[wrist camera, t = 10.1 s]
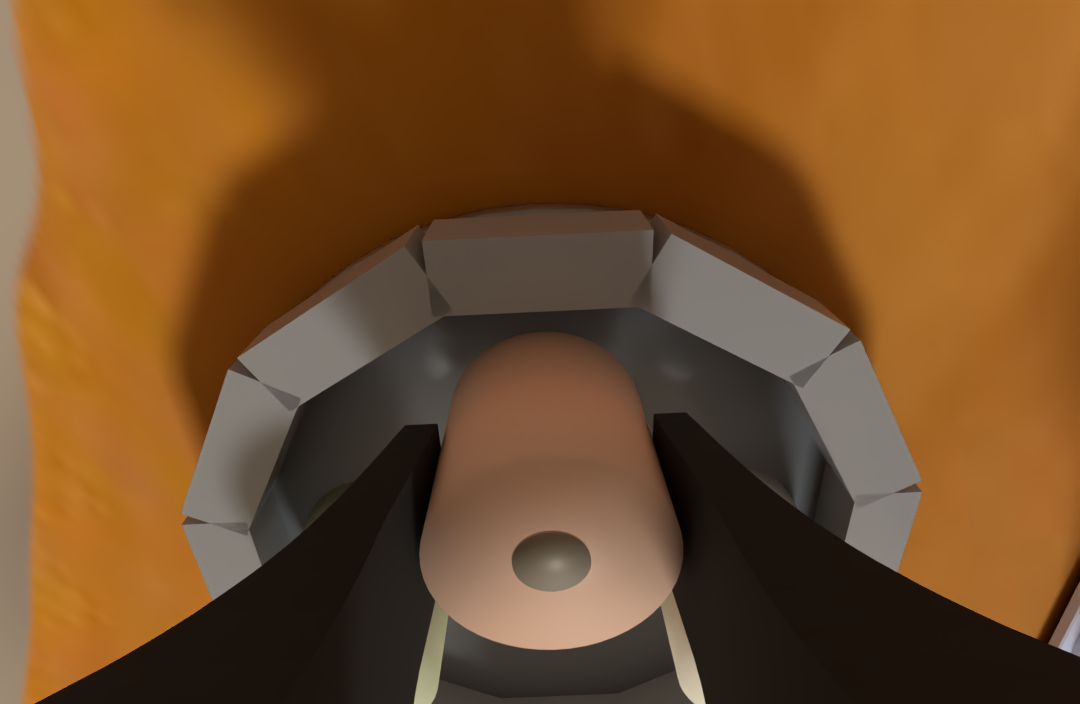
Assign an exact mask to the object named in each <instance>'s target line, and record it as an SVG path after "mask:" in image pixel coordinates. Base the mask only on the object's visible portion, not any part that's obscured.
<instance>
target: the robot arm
mask: <svg viewBox="0 0 1080 704" xmlns="http://www.w3.org/2000/svg"><path fill="white" fill-rule="evenodd" d="M652 439H653V443H654V446H655V449H656V452H657V455H658V459H659V462H660V465H661V468H662V472H663V475H664V478H665V481H666V484H667V488H668V491H669V494H670V497H671V501H672V504H673V507H674V510H675V513H676V517H677V520H678V523H679V526H680V529H681V533H682V539H683V561H682V567H681V571H680V574H679V576H678V579H677V582H676V584H675V585H674V587H673V589H672V592H673V595H674V598H675V601H676V604H677V607H678V610H679V613H680V617H681V620H682V623H683V626H684V629H685V632H686V635H687V638H688V641H689V644H690V648H691V651H692V654H693V657H694V660H695V664H696V667H697V671H698V675H699V678H700V682H701V686H702V690H703V695H704V699H705V704H1080V582H1079V584H1078V586H1077V588H1076V590H1075V592H1074V594H1073V596H1072V598H1071V600H1070V602H1069V604H1068V606H1067V608H1066V610H1065V612H1064V614H1063V616H1062V618H1061V620H1060V622H1059V624H1058V626H1057V627H1056V629H1055V631H1054V633H1053V635H1052V637H1051V639H1050V641H1049V643H1045V642H1043V641H1040V640H1038V639H1035V638H1033V637H1031V636H1028V635H1026V634H1023V633H1021V632H1018V631H1016V630H1013V629H1011V628H1009V627H1006V626H1004V625H1002V624H1000V623H997V622H995V621H993V620H991V619H989V618H987V617H985V616H983V615H980V614H978V613H976V612H974V611H972V610H970V609H968V608H966V607H964V606H961V605H959V604H957V603H955V602H953V601H951V600H949V599H947V598H945V597H943V596H941V595H939V594H937V593H935V592H933V591H931V590H929V589H927V588H925V587H923V586H921V585H919V584H917V583H915V582H914V581H912V580H910V579H908V578H906V577H905V576H903V575H901V574H899V573H897V572H896V571H894V570H892V569H890V568H889V567H887V566H885V565H883V564H881V563H880V562H878V561H876V560H874V559H873V558H871V557H869V556H868V555H866V554H864V553H863V552H861V551H859V550H858V549H856V548H854V547H853V546H851V545H849V544H848V543H846V542H845V541H843V540H842V539H840V538H839V537H837V536H836V535H834V534H833V533H831V532H830V531H828V530H827V529H825V528H824V527H822V526H821V525H819V524H818V523H816V522H815V521H813V520H812V519H810V518H809V517H808V516H806V515H805V514H803V513H802V512H801V511H799V510H798V509H797V508H795V507H794V506H793V505H791V504H790V503H789V502H787V501H786V500H785V499H784V498H782V497H781V496H780V495H778V494H777V493H776V492H774V491H773V490H772V489H771V488H769V487H768V486H767V485H766V484H765V483H763V482H762V481H761V480H760V479H758V478H757V477H756V476H755V475H754V474H753V473H751V472H750V471H749V470H748V469H747V468H746V467H745V466H743V465H742V464H741V463H740V462H739V461H738V460H737V459H735V458H734V457H733V456H732V455H731V454H730V453H729V452H728V451H727V450H726V449H725V448H724V447H723V446H721V445H720V444H719V443H718V442H717V441H716V440H715V439H714V438H713V437H712V436H711V435H710V434H709V433H708V432H707V431H706V430H705V429H704V428H702V427H701V426H700V425H699V424H698V423H697V422H696V421H695V420H694V419H693V418H692V417H691V416H690V415H689V414H688V413H687V412H681V413H659V414H654V416H653V437H652ZM440 451H441V444H440V437H439V430H438V424H418V425H405V426H404V427H403V428H402V429H401V430H400V431H399V432H398V433H397V434H396V436H395V437H394V438H393V439H392V440H391V441H390V442H389V443H388V445H387V446H386V447H385V448H384V449H383V450H382V451H381V452H380V454H379V455H378V456H377V457H376V458H375V459H374V460H373V461H372V463H371V464H370V465H369V466H368V467H367V468H366V469H365V470H364V471H363V472H362V474H361V475H360V476H359V477H358V478H357V479H356V480H355V481H354V482H353V483H352V484H351V485H350V486H349V487H348V488H347V489H346V491H345V492H344V493H343V494H342V495H341V496H340V497H339V498H338V499H337V500H336V501H335V502H334V503H333V504H332V505H331V506H330V507H329V508H327V509H326V510H325V511H324V512H323V513H322V514H321V515H320V516H319V517H318V518H317V519H316V520H315V521H314V522H313V523H312V524H311V525H310V526H309V527H308V528H306V529H305V530H304V531H303V532H302V533H301V534H300V535H299V536H297V537H296V538H295V539H294V540H293V541H292V542H290V543H289V544H288V545H287V546H286V547H284V548H283V549H282V550H281V551H279V552H278V553H277V554H276V555H274V556H273V557H272V558H271V559H269V560H268V561H267V562H266V563H264V564H263V565H262V566H261V567H259V568H258V569H257V570H255V571H254V572H253V573H251V574H250V575H249V576H247V577H246V578H244V579H243V580H242V581H240V582H239V583H237V584H236V585H234V586H233V587H232V588H230V589H229V590H227V591H226V592H224V593H223V594H222V595H220V596H219V597H217V598H216V599H214V600H213V601H212V602H210V603H209V604H207V605H206V606H204V607H203V608H202V609H200V610H199V611H197V612H196V613H194V614H193V615H191V616H189V617H188V618H186V619H185V620H183V621H182V622H180V623H178V624H177V625H175V626H174V627H172V628H170V629H169V630H167V631H166V632H164V633H162V634H161V635H159V636H157V637H156V638H154V639H152V640H151V641H149V642H147V643H146V644H144V645H142V646H140V647H139V648H137V649H135V650H134V651H132V652H130V653H129V654H127V655H125V656H123V657H122V658H120V659H118V660H116V661H114V662H113V663H111V664H109V665H107V666H106V667H104V668H102V669H100V670H98V671H96V672H94V673H92V674H90V675H88V676H87V677H85V678H83V679H81V680H79V681H77V682H75V683H73V684H71V685H69V686H67V687H66V688H64V689H62V690H60V691H58V692H56V693H54V694H52V695H50V696H48V697H46V698H45V699H43V700H41V701H39V702H37V703H35V704H414V699H415V693H416V687H417V682H418V676H419V671H420V666H421V662H422V658H423V653H424V649H425V644H426V640H427V636H428V631H429V627H430V622H431V618H432V614H433V609H434V605H435V600H434V598H433V597H432V595H431V593H430V592H429V590H428V588H427V586H426V584H425V581H424V579H423V575H422V571H421V568H420V557H419V552H420V542H421V537H422V532H423V528H424V523H425V519H426V514H427V510H428V505H429V501H430V496H431V492H432V487H433V483H434V478H435V474H436V469H437V465H438V460H439V456H440Z"/></svg>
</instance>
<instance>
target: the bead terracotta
mask: <svg viewBox="0 0 1080 704" xmlns="http://www.w3.org/2000/svg"><path fill="white" fill-rule="evenodd" d="M419 557H420V568H421V571H422V575H423V579H424V581H425V584H426V586H427V588H428V590H429V592H430V593H431V595H432V597H433V598H434V600H435V601H436V602H437V604H438V605H439V606H440V607H441V608H442V609H443V610H444V611H445V612H446V613H447V614H448V615H449V616H450V617H451V618H452V619H454V620H455V621H456V622H458V623H459V624H461V625H462V626H464V627H465V628H467V629H468V630H470V631H472V632H474V633H476V634H478V635H480V636H482V637H485V638H487V639H490V640H492V641H495V642H499V643H502V644H506V645H510V646H515V647H520V648H528V649H538V650H558V649H570V648H576V647H582V646H587V645H591V644H595V643H599V642H602V641H605V640H607V639H610V638H613V637H615V636H618V635H620V634H622V633H624V632H626V631H628V630H630V629H631V628H633V627H635V626H636V625H638V624H639V623H641V622H642V621H644V620H645V619H646V618H647V617H649V616H650V615H651V614H652V613H653V612H654V611H655V610H656V609H657V608H658V607H659V606H660V605H661V604H662V603H663V602H664V601H665V599H666V598H667V597H668V595H669V594H670V593H671V591H672V589H673V587H674V585H675V584H676V582H677V579H678V576H679V574H680V571H681V567H682V561H683V539H682V533H681V529H680V526H679V523H678V520H677V517H676V513H675V510H674V507H673V504H672V501H671V497H670V494H669V491H668V488H667V484H666V481H665V478H664V475H663V472H662V468H661V465H660V462H659V459H658V455H657V452H656V449H655V446H654V443H653V439H652V436H651V433H650V430H649V427H648V423H647V420H646V417H645V414H644V410H643V407H642V404H641V401H640V398H639V394H638V391H637V389H636V386H635V383H634V381H633V379H632V377H631V375H630V373H629V372H628V371H627V369H626V368H625V367H624V365H623V364H622V363H621V362H620V361H619V360H618V359H617V358H616V357H615V356H614V355H613V354H611V353H610V352H609V351H607V350H606V349H605V348H603V347H601V346H600V345H598V344H596V343H594V342H592V341H590V340H587V339H585V338H582V337H579V336H575V335H572V334H567V333H560V332H533V333H527V334H522V335H517V336H514V337H511V338H508V339H506V340H503V341H501V342H499V343H497V344H495V345H493V346H491V347H490V348H488V349H487V350H485V351H484V352H482V353H481V354H480V355H479V356H478V357H477V358H476V359H474V360H473V361H472V363H471V364H470V365H469V366H468V367H467V368H466V370H465V371H464V373H463V374H462V376H461V377H460V379H459V381H458V383H457V385H456V388H455V390H454V394H453V397H452V401H451V406H450V410H449V415H448V420H447V424H446V429H445V433H444V438H443V442H442V447H441V451H440V456H439V460H438V465H437V469H436V474H435V478H434V483H433V487H432V492H431V496H430V501H429V505H428V510H427V514H426V519H425V523H424V528H423V532H422V537H421V542H420V552H419Z"/></svg>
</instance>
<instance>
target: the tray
mask: <svg viewBox="0 0 1080 704" xmlns="http://www.w3.org/2000/svg"><path fill="white" fill-rule="evenodd" d="M850 330H851V329H849V328H848V327H847V326H846V325H845V324H844V323H843V322H842V321H840V320H839V319H838V318H837V317H836V316H835V315H834V314H833V313H831V312H830V311H829V310H828V309H827V308H826V307H825V306H823V305H822V304H821V303H820V302H819V301H818V300H816V299H814V298H812V297H810V296H808V295H806V294H805V293H803V292H801V291H799V290H797V289H795V288H794V287H792V286H790V285H788V284H786V283H784V282H782V281H781V280H779V279H777V278H775V277H773V276H771V275H770V274H769V273H768V272H767V271H766V270H765V269H763V268H762V267H760V266H759V265H757V264H756V263H754V262H752V261H751V260H749V259H748V258H746V257H745V256H743V255H742V254H740V253H738V252H737V251H735V250H734V249H732V248H731V247H729V246H728V245H726V244H724V243H721V242H719V241H717V240H715V239H713V238H710V237H708V236H706V235H704V234H702V233H699V232H697V231H695V230H693V229H690V228H688V227H686V226H684V225H681V224H677V223H674V222H671V221H669V220H668V219H666V218H664V217H662V216H660V215H658V214H655V216H654V217H653V216H650V215H646V214H643V213H642V212H641V210H622V209H616V208H609V207H603V206H596V205H589V204H550V203H534V204H525V205H517V206H508V207H499V208H490V209H484V210H480V211H476V212H472V213H468V214H464V215H460V216H456V217H452V218H448V219H436V220H433V222H432V223H431V224H429V225H426V226H424V227H421V228H420V227H419V225H417V226H415V227H414V228H412V229H411V230H409V231H408V232H406V233H405V234H403V235H402V236H399V237H397V238H394V239H392V240H390V241H388V242H386V243H385V244H383V245H381V246H380V247H378V248H376V249H374V250H373V251H371V252H369V253H367V254H366V255H364V256H362V257H360V258H359V259H357V260H355V261H353V262H352V263H350V264H349V265H348V266H347V267H345V268H344V269H343V270H341V271H340V272H339V273H338V274H336V275H335V276H334V277H333V278H331V279H330V280H329V281H328V282H326V283H325V284H324V285H322V286H321V287H320V288H319V289H317V290H316V291H315V292H314V294H313V295H312V296H311V297H310V298H308V299H307V300H305V301H304V302H302V303H301V304H299V305H298V306H296V307H295V308H293V309H292V310H290V311H289V312H287V313H286V314H284V315H283V316H281V317H280V318H278V319H277V320H275V321H274V322H272V323H271V324H269V325H268V326H266V327H265V328H264V330H263V331H262V332H261V333H260V334H259V335H258V336H257V337H256V338H255V339H254V340H253V341H252V342H251V343H250V344H249V346H248V347H247V348H246V349H245V350H244V351H243V352H242V353H241V354H240V355H239V356H238V357H237V360H236V361H235V362H234V363H233V364H232V366H231V367H230V368H229V369H228V371H227V374H226V377H225V380H224V383H223V386H222V389H221V392H220V395H219V398H218V402H217V405H216V408H215V411H214V414H213V417H212V420H211V423H210V426H209V429H208V432H207V435H206V438H205V441H204V444H203V447H202V450H201V453H200V457H199V460H198V463H197V466H196V469H195V472H194V475H193V478H192V481H191V484H190V487H189V490H188V493H187V496H186V499H185V502H184V505H183V509H182V512H181V514H184V515H186V516H188V517H187V518H186V519H185V521H184V522H183V524H182V527H183V530H184V532H185V534H186V537H187V539H188V542H189V544H190V546H191V549H192V551H193V554H194V556H195V559H196V561H197V563H198V566H199V568H200V571H201V573H202V575H203V578H204V580H205V583H206V585H207V588H208V590H209V592H210V595H211V597H212V600H214V599H216V598H217V597H219V596H220V595H222V594H223V593H224V592H226V591H227V590H229V589H230V588H232V587H233V586H234V585H236V584H237V583H239V582H240V581H242V580H243V579H244V578H246V577H247V576H249V575H250V574H251V573H253V572H254V571H255V570H257V569H258V568H259V567H261V566H262V565H263V564H264V563H266V562H267V561H268V560H269V559H271V558H272V557H273V556H274V555H276V554H277V553H278V552H279V551H281V550H282V549H283V548H284V547H286V546H287V545H288V544H289V543H290V542H292V541H293V540H294V539H295V538H296V537H297V536H299V535H300V534H301V533H302V531H303V529H304V526H305V524H306V522H307V520H308V518H309V516H310V514H311V512H312V510H313V508H314V506H315V505H316V504H317V502H318V501H319V500H320V499H321V498H322V497H323V496H324V495H325V494H327V493H328V492H330V491H331V490H333V489H334V488H336V487H338V486H341V485H343V484H346V483H349V482H352V481H355V480H356V479H357V478H358V477H359V476H360V475H361V474H362V472H363V471H364V470H365V469H366V468H367V467H368V466H369V465H370V464H371V463H372V461H373V460H374V459H375V458H376V457H377V456H378V455H379V454H380V452H381V451H382V450H383V449H384V448H385V447H386V446H387V445H388V443H389V442H390V441H391V440H392V439H393V438H394V437H395V436H396V434H397V433H398V432H399V431H400V430H401V429H402V428H403V427H404V426H405V425H418V424H438V430H439V437H440V444H441V447H442V442H443V438H444V433H445V429H446V424H447V420H448V415H449V410H450V406H451V401H452V397H453V394H454V390H455V388H456V385H457V383H458V381H459V379H460V377H461V376H462V374H463V373H464V371H465V370H466V368H467V367H468V366H469V365H470V364H471V363H472V361H473V360H474V359H476V358H477V357H478V356H479V355H480V354H481V353H482V352H484V351H485V350H487V349H488V348H490V347H491V346H493V345H495V344H497V343H499V342H501V341H503V340H506V339H508V338H511V337H514V336H517V335H522V334H527V333H533V332H560V333H567V334H572V335H575V336H579V337H582V338H585V339H587V340H590V341H592V342H594V343H596V344H598V345H600V346H601V347H603V348H605V349H606V350H607V351H609V352H610V353H611V354H613V355H614V356H615V357H616V358H617V359H618V360H619V361H620V362H621V363H622V364H623V365H624V367H625V368H626V369H627V371H628V372H629V373H630V375H631V377H632V379H633V381H634V383H635V386H636V389H637V391H638V394H639V398H640V401H641V404H642V407H643V410H644V414H645V417H646V420H647V423H648V427H649V430H650V433H651V436H652V437H653V416H654V414H659V413H681V412H687V413H688V414H689V415H690V416H691V417H692V418H693V419H694V420H695V421H696V422H697V423H698V424H699V425H700V426H701V427H702V428H704V429H705V430H706V431H707V432H708V433H709V434H710V435H711V436H712V437H713V438H714V439H715V440H716V441H717V442H718V443H719V444H720V445H721V446H723V447H724V448H725V449H726V450H727V451H728V452H729V453H730V454H731V455H732V456H733V457H734V458H735V459H737V460H738V461H739V462H740V463H741V464H742V465H743V466H745V467H746V468H750V469H754V470H758V471H761V472H763V473H765V474H767V475H770V476H771V477H773V478H774V479H776V480H777V481H778V482H780V483H781V484H782V485H783V486H784V487H785V489H786V490H787V491H788V492H789V494H790V496H791V498H792V499H793V501H794V503H795V505H796V506H797V508H798V510H799V511H801V512H802V513H803V514H805V515H806V516H808V517H809V518H810V519H812V520H813V521H815V522H816V523H818V524H819V525H821V526H822V527H824V528H825V529H827V530H828V531H830V532H831V533H833V534H834V535H836V536H837V537H839V538H840V539H842V540H843V541H845V542H846V543H848V544H849V545H851V546H853V547H854V548H856V549H858V550H859V551H861V552H863V553H864V554H866V555H868V556H869V557H871V558H873V559H874V560H876V561H878V562H880V563H881V564H883V565H885V566H887V567H889V568H890V569H892V570H894V571H896V572H898V569H899V565H900V562H901V559H902V556H903V553H904V549H905V546H906V543H907V540H908V536H909V533H910V530H911V527H912V524H913V520H914V517H915V514H916V511H917V508H918V504H919V501H920V498H921V495H922V491H921V490H920V489H919V488H918V486H917V485H916V484H915V483H918V482H920V481H922V479H921V477H920V475H919V473H918V470H917V468H916V466H915V463H914V461H913V459H912V457H911V454H910V452H909V450H908V447H907V445H906V443H905V441H904V438H903V436H902V434H901V431H900V429H899V427H898V425H897V422H896V420H895V418H894V415H893V413H892V411H891V409H890V406H889V404H888V402H887V399H886V397H885V395H884V393H883V390H882V388H881V386H880V383H879V381H878V379H877V377H876V374H875V372H874V370H873V367H872V365H871V363H870V360H869V358H868V356H867V354H866V351H865V349H864V347H863V344H862V342H861V340H860V339H859V338H858V337H857V336H855V335H854V334H853V333H852V332H851V331H850ZM431 704H694V703H693V702H692V701H691V700H690V699H689V698H688V697H687V696H686V695H685V693H684V692H683V690H682V688H681V686H680V684H679V680H678V677H677V673H676V668H675V664H674V660H673V655H672V651H671V647H670V643H669V638H668V634H667V630H666V625H665V621H664V617H663V613H662V608H661V605H660V606H659V607H658V608H657V609H656V610H655V611H654V612H653V613H652V614H651V615H650V616H649V617H647V618H646V619H645V620H644V621H642V622H641V623H639V624H638V625H636V626H635V627H633V628H631V629H630V630H628V631H626V632H624V633H622V634H620V635H618V636H615V637H613V638H610V639H607V640H605V641H602V642H599V643H595V644H591V645H587V646H582V647H576V648H570V649H558V650H538V649H528V648H520V647H515V646H510V645H506V644H502V643H499V642H495V641H492V640H490V639H487V638H485V637H482V636H480V635H478V634H476V633H474V632H472V631H470V630H468V629H467V628H465V627H464V626H462V625H461V624H459V623H458V622H456V621H455V620H454V619H452V618H451V617H450V616H449V615H448V621H447V628H446V635H445V642H444V649H443V656H442V663H441V670H440V677H439V684H438V690H437V693H436V696H435V698H434V700H433V702H432V703H431Z"/></svg>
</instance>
